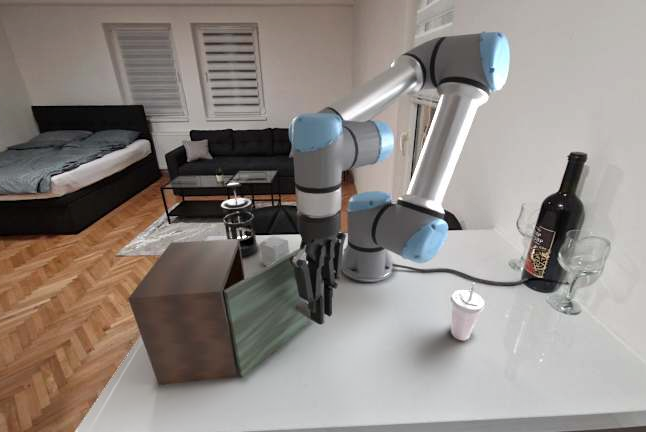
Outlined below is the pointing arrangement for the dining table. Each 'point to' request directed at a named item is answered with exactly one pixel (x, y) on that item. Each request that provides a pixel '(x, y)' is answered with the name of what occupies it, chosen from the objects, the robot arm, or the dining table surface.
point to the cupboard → (189, 311)
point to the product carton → (273, 250)
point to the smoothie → (465, 312)
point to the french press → (245, 233)
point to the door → (266, 312)
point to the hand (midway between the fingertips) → (321, 316)
